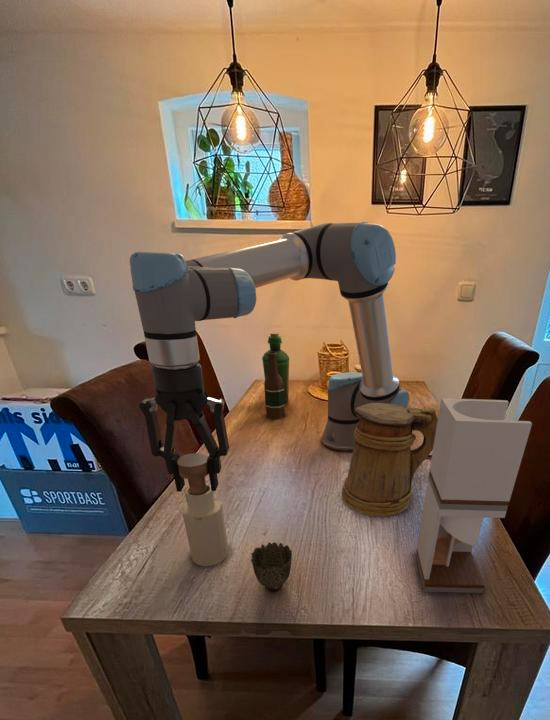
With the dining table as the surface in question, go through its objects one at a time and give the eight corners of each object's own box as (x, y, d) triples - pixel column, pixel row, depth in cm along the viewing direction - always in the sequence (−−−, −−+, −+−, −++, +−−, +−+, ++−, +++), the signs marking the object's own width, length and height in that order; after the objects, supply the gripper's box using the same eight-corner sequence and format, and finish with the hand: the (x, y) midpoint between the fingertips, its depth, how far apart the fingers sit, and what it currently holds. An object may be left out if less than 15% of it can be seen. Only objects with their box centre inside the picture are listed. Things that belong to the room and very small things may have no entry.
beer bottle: (281, 420, 151) (278, 355, 138) (262, 417, 152) (257, 353, 140) (288, 413, 157) (285, 351, 145) (269, 411, 158) (265, 349, 146)
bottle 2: (295, 400, 170) (292, 332, 156) (283, 408, 162) (280, 336, 147) (273, 397, 173) (268, 330, 159) (260, 404, 164) (255, 334, 150)
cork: (216, 482, 78) (212, 452, 75) (210, 497, 73) (205, 466, 70) (187, 482, 77) (181, 453, 74) (179, 498, 73) (172, 467, 69)
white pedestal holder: (424, 591, 76) (456, 420, 59) (415, 555, 85) (441, 398, 68) (482, 592, 77) (532, 423, 59) (468, 556, 86) (507, 400, 68)
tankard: (337, 482, 111) (339, 396, 99) (417, 479, 114) (430, 395, 102) (346, 519, 96) (350, 423, 83) (438, 515, 99) (456, 421, 86)
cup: (256, 573, 79) (253, 541, 75) (293, 572, 80) (292, 540, 76) (252, 601, 73) (248, 569, 68) (292, 600, 73) (291, 567, 69)
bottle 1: (231, 542, 87) (221, 479, 79) (225, 565, 81) (214, 499, 72) (196, 543, 86) (184, 480, 78) (188, 566, 80) (173, 500, 72)
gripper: (238, 359, 67) (250, 477, 79) (124, 357, 66) (153, 478, 77) (231, 370, 61) (245, 497, 73) (104, 368, 59) (139, 498, 71)
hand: (198, 487), depth 75 cm, fingers closed on cork, 6 cm apart
